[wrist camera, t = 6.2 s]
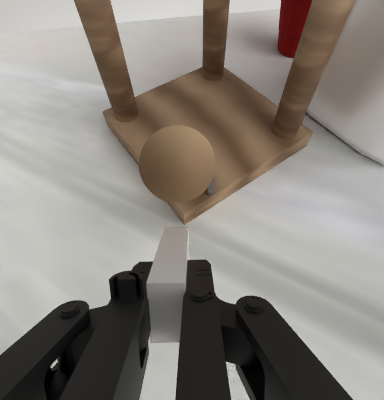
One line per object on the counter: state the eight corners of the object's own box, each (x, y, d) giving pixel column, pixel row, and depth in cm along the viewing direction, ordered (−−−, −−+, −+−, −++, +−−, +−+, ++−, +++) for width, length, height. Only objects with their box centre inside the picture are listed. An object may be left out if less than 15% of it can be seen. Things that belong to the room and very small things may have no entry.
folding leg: (204, 190, 27) (216, 201, 11) (173, 191, 27) (140, 203, 11) (203, 159, 26) (215, 124, 10) (172, 160, 26) (137, 126, 11)
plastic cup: (250, 50, 47) (264, -35, 37) (285, 28, 51) (307, -54, 41) (300, 75, 43) (332, -14, 33) (334, 49, 47) (373, -37, 36)
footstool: (184, 224, 29) (161, 16, 11) (107, 125, 38) (25, -81, 20) (305, 145, 35) (418, -75, 17) (214, 75, 43) (225, -119, 26)
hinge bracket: (212, 195, 28) (214, 178, 25) (165, 195, 28) (162, 180, 25) (211, 177, 29) (212, 160, 27) (166, 178, 29) (163, 161, 27)
